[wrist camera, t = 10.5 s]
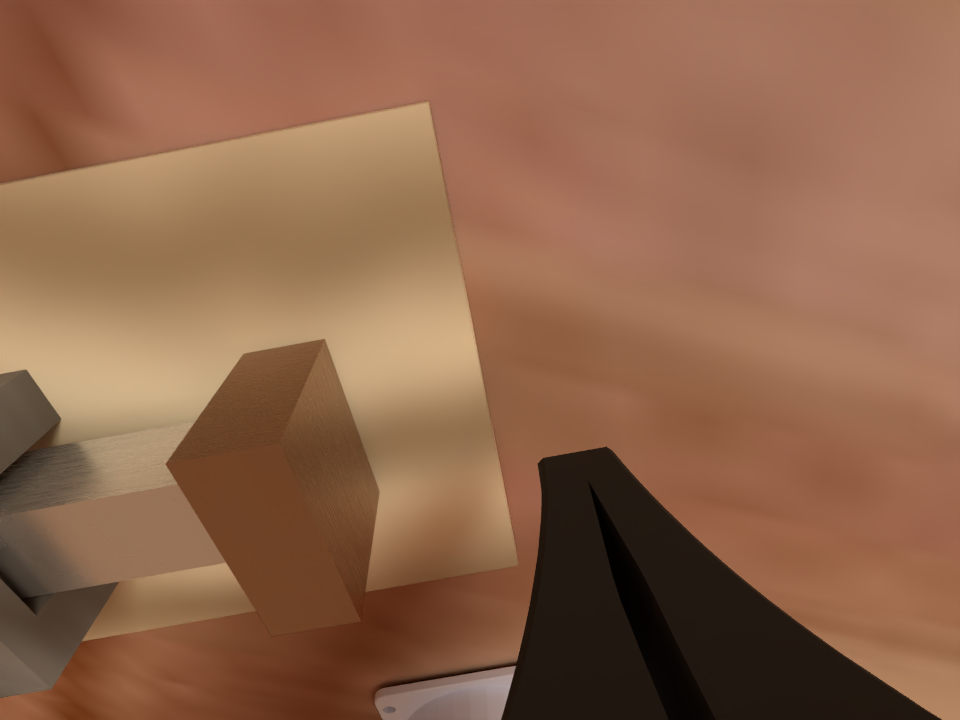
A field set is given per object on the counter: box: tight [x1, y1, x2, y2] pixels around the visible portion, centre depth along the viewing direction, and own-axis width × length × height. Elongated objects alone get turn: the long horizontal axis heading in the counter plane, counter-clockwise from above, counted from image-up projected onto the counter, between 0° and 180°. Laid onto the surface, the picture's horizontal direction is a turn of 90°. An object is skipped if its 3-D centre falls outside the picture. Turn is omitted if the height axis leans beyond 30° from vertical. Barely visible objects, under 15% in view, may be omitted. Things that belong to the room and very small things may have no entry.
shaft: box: [0, 339, 380, 637], centre depth 12 cm, size 5×9×4 cm, turn 100°
